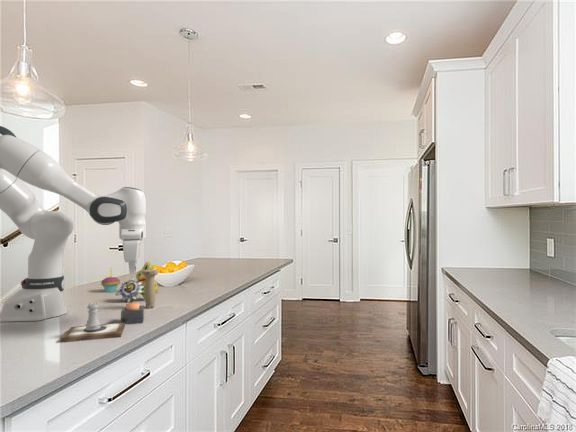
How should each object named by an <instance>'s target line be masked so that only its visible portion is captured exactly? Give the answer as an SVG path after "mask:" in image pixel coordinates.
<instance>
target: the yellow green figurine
mask: <svg viewBox="0 0 576 432" xmlns="http://www.w3.org/2000/svg"><path fill="white" fill-rule="evenodd" d="M154 267H155V266H154V264H152V263H151V262H149V261H145V263H144V265H143V266H142V268H141V269H140V270H138V271H137V273H136V275H135V276H136V277H135V278H136V280H135V283H136V282H140V281H143V283H142V284H141V285H140V286H145V285H146V276H144V275H143V274H142V271H143V270H154ZM144 290H145V287H144ZM158 291H159V287H158V283H157V281H156V280H155V293H157V292H158Z"/></svg>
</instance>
